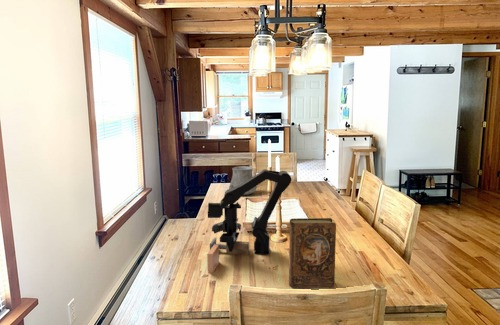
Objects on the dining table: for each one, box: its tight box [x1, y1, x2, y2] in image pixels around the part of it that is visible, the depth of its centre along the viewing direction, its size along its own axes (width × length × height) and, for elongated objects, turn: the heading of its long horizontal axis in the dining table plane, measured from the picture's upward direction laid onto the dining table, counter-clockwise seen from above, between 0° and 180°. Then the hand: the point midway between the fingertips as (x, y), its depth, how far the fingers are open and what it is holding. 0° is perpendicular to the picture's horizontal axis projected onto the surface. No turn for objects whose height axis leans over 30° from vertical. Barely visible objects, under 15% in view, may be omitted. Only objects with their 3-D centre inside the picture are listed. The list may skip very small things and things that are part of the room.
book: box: [288, 217, 337, 289], centre depth 138 cm, size 16×6×25 cm, turn 92°
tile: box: [206, 243, 220, 274], centre depth 154 cm, size 2×10×8 cm, turn 171°
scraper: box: [209, 237, 250, 256], centre depth 169 cm, size 17×8×5 cm, turn 81°
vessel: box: [228, 165, 258, 196], centre depth 277 cm, size 22×22×20 cm
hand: (231, 250), depth 170 cm, fingers closed on scraper, 3 cm apart
